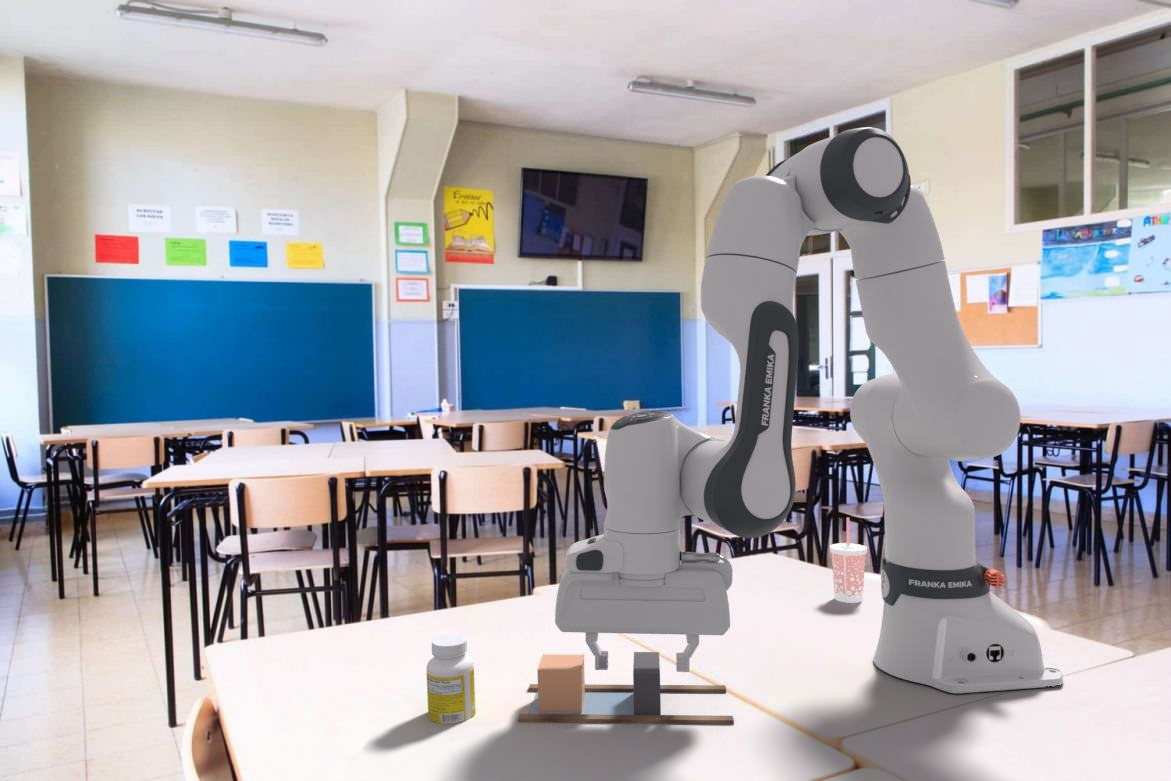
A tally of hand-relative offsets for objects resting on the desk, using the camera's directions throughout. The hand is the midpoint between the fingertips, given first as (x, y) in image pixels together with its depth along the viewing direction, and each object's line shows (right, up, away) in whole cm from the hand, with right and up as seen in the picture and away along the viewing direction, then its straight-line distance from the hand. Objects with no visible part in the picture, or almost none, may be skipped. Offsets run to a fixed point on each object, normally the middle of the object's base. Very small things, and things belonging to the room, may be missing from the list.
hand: (642, 669), depth 98 cm
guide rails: (-2, -5, 0) cm, 6 cm away
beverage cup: (+38, -3, +46) cm, 60 cm away
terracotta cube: (-9, -4, +1) cm, 10 cm away
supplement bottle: (-22, -6, -1) cm, 23 cm away
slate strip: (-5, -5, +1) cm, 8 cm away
